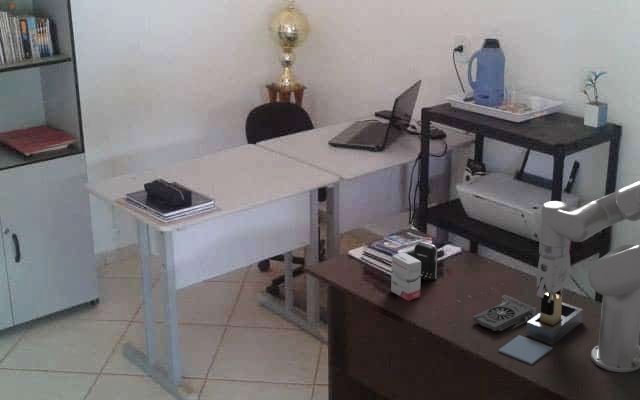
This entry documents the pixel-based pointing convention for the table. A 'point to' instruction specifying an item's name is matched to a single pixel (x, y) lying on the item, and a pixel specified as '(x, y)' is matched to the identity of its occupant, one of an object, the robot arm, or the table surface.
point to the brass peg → (553, 312)
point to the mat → (525, 349)
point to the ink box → (406, 276)
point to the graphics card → (505, 315)
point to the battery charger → (427, 260)
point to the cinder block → (550, 335)
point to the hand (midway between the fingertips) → (551, 309)
